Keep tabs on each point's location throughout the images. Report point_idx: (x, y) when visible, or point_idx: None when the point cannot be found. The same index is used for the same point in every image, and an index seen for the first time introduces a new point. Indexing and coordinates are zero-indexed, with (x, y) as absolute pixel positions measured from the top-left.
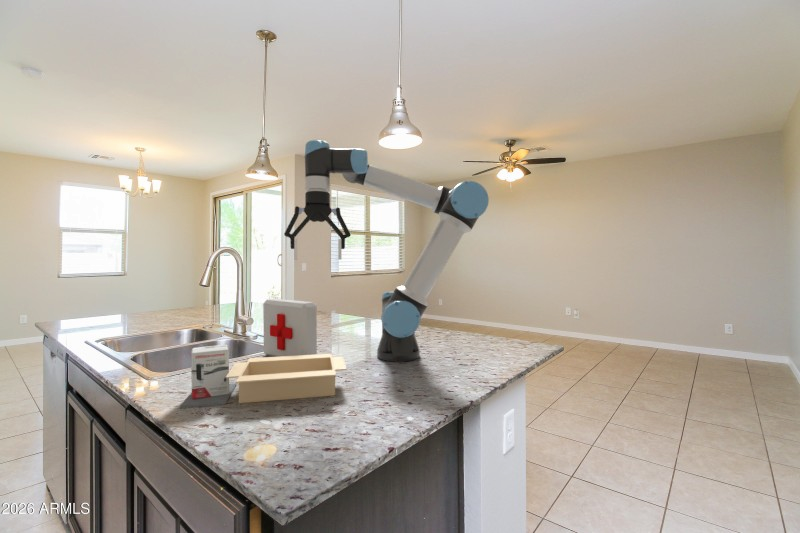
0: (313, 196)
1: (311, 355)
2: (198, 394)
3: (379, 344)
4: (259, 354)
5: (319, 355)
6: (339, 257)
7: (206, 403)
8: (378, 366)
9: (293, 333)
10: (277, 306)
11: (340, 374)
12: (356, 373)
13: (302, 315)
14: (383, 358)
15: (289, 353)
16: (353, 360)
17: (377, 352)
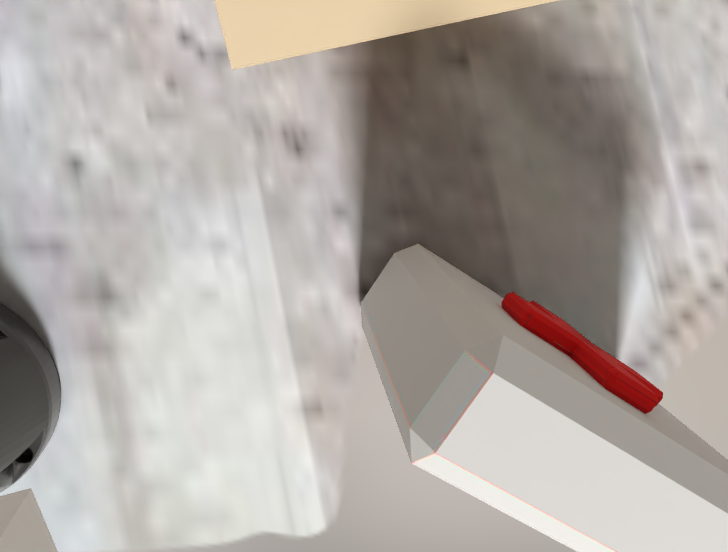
0: None
1: (335, 29)
2: None
3: (21, 399)
4: None
5: (291, 27)
6: (5, 518)
7: None
8: (24, 210)
9: (503, 312)
10: (690, 450)
11: (197, 81)
12: (120, 95)
13: (478, 318)
14: (10, 315)
15: (492, 292)
16: (174, 309)
17: (48, 377)
